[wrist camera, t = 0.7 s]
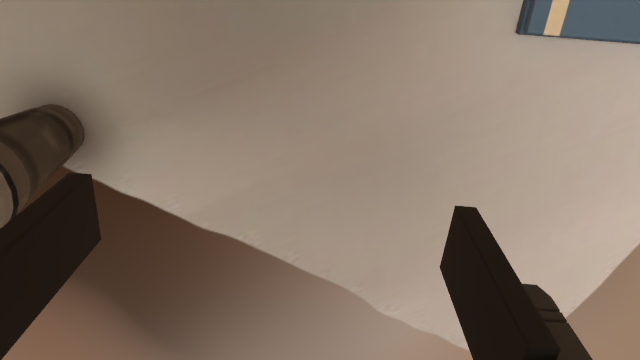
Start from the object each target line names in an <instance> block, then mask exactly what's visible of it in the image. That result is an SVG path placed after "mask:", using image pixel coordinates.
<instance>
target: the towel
mask: <svg viewBox="0 0 640 360" xmlns="http://www.w3.org/2000/svg"><path fill="white" fill-rule="evenodd" d="M516 33H518V34H523V35H536V36H548V37H561V38H573V39H585V40H598V41H610V42H623V43H635V44H640V0H524V3H523V7H522V11H521V15H520V19H519V23H518V27H517V31H516Z"/></svg>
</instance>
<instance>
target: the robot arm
mask: <svg viewBox="0 0 640 360" xmlns="http://www.w3.org/2000/svg"><path fill="white" fill-rule="evenodd" d="M100 240H101V235H100V229H99V222H98V215H97V208H96V202H95V195H94V188H93V182H92V175H91V174H80V173H69V174H67V175H66V176H65V177H64V178H62V179H61V180H60V181H59V182H58V183H56V184H55V185H54V186H53V187H51V188H50V189H49V190H48V191H46V192H45V193H44V194H43V195H41V196H40V197H39V198H38V199H37V200H35V201H34V202H33V203H31V204H30V205H29V206H28V207H27V208H25V209H24V210H23V211H22V212H20V213H19V214H18V215H17V216H15V217H14V218H13V219H12V220H10V221H9V222H8V223H7V224H5V225H4V226H3V227H2V228H0V360H1V359H2V358H3V357H4V356H5V355H6V353H7V352H8V351H9V350H10V348H11V347H12V346H13V345H14V344H15V343H16V341H17V340H18V339H19V338H20V337H21V335H22V334H23V333H24V332H25V330H26V329H27V328H28V327H29V326H30V324H31V323H32V322H33V321H34V320H35V318H36V317H37V316H38V315H39V314H40V312H41V311H42V310H43V309H44V308H45V306H46V305H47V304H48V303H49V302H50V300H51V299H52V298H53V297H54V295H55V294H56V293H57V292H58V291H59V289H60V288H61V287H62V286H63V284H64V283H65V282H66V281H67V280H68V279H69V277H70V276H71V275H72V274H73V273H74V271H75V270H76V269H77V268H78V266H79V265H80V264H81V263H82V262H83V260H84V259H85V258H86V257H87V256H88V254H89V253H90V252H91V251H92V250H93V248H94V247H95V246H96V245H97V244H98V242H99V241H100ZM440 269H441V272H442V275H443V278H444V280H445V283H446V286H447V289H448V291H449V294H450V297H451V300H452V302H453V305H454V308H455V311H456V313H457V316H458V319H459V322H460V325H461V327H462V330H463V333H464V336H465V338H466V341H467V344H468V347H469V349H470V352H471V355H472V358H473V360H592V358H591V357H590V355H589V354H588V352H587V351H586V349H585V348H584V346H583V345H582V343H581V342H580V340H579V339H578V337H577V335H576V334H575V333H574V331H573V329H572V328H571V326H570V325H569V324H568V323H567V321H566V319H565V317H564V316H563V314H562V313H560V312H559V311H560V310H559V308H558V307H557V305H556V304H555V302H554V301H553V299H552V298H551V297H550V296H549V295H548V294H547V293H546V292H544V291H543V290H542V289H541V288H540V287H538V286H537V285H530V284H522V283H521V282H520V280H519V278H518V277H517V275H516V273H515V272H514V270H513V268H512V267H511V265H510V263H509V262H508V260H507V258H506V257H505V255H504V253H503V252H502V250H501V248H500V247H499V245H498V243H497V242H496V240H495V238H494V237H493V235H492V233H491V232H490V230H489V228H488V227H487V225H486V223H485V222H484V220H483V218H482V217H481V215H480V213H479V212H478V210H477V208H475V207H464V206H455V209H454V213H453V217H452V221H451V225H450V229H449V233H448V237H447V241H446V245H445V249H444V253H443V257H442V261H441V265H440Z"/></svg>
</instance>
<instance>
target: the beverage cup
mask: <svg viewBox="0 0 640 360" xmlns="http://www.w3.org/2000/svg"><path fill="white" fill-rule="evenodd" d="M83 139H84V132H83V128H82V125H81V123H80V121H79V120H78V118H77V117H76V116H75V115H74V114H73V113H72V112H70V111H69V110H68V109H66V108H63V107H61V106H58V105H44V106H42V107H38V108H33V109H29V110H26V111H23V112H20V113H17V114H14V115H11V116H8V117H5V118H2V119H0V228H2V227H3V226H4V225H5V224H7V223H8V222H9V221H10V220H12V219H13V218H14V217H15V216H16V215H17V213H18V212H19V211H20V210H21V208H22V207H23V206H24V204H25V203H26V202H27V200H28V199H29V198H30V197H31V196H32V195H33V194H34V193H35V192H36V191H37V190H38V189H39V188H40V187H41V186H42V185H43V184H44V183H45V182H46V181H47V180H48V179H49V178H50V177H51V176H52V175H53V174H54V173H55V172H56V171H57V170H58V169H59V168H60V167H61V166H62V165H63V164H64V163H65V162H66V161H67V160H68V159H69V158H70V157H71V156H72V155H73V154H74V152H75V151H76V150H77V149H78V148H79V147H80V146H81V144H82V142H83Z"/></svg>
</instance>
